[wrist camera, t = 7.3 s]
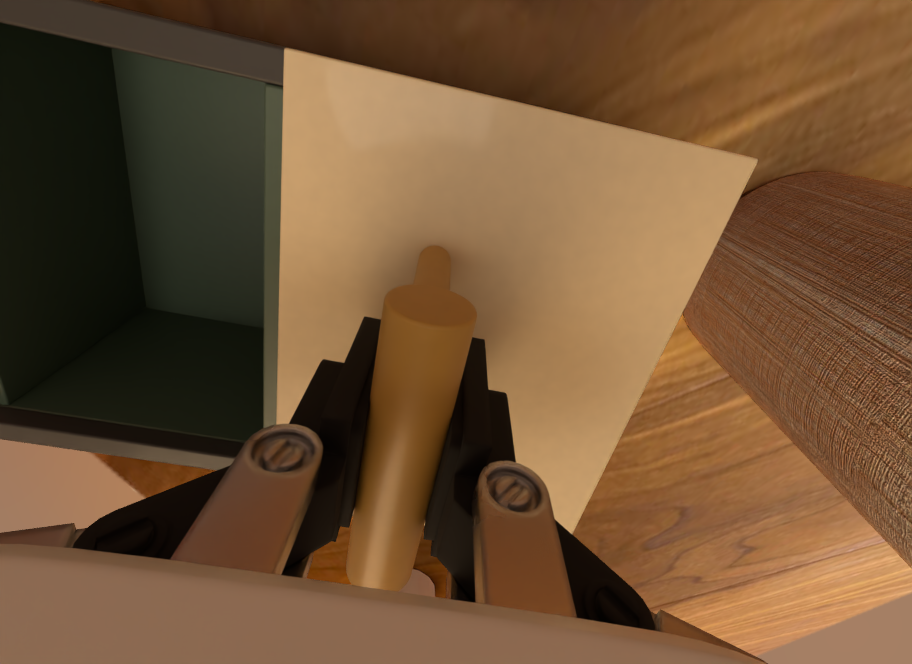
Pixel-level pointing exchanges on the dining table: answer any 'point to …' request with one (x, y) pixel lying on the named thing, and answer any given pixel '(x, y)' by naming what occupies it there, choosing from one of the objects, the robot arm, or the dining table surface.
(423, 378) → the slide door
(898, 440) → the planter
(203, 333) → the cabinet
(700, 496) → the dining table surface
